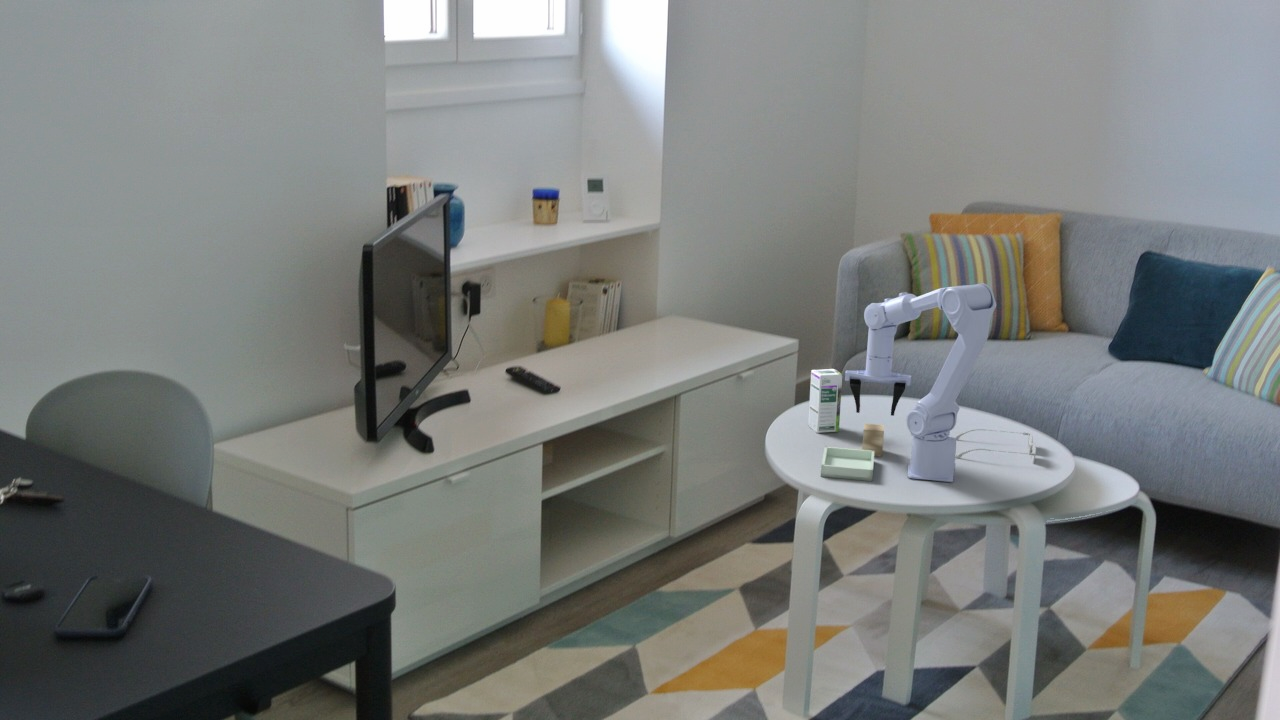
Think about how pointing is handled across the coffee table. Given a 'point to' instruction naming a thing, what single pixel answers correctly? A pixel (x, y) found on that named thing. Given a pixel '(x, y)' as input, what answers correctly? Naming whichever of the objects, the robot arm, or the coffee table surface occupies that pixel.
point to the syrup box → (825, 400)
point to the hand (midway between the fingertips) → (875, 412)
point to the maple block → (873, 438)
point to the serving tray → (847, 463)
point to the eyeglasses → (1030, 446)
